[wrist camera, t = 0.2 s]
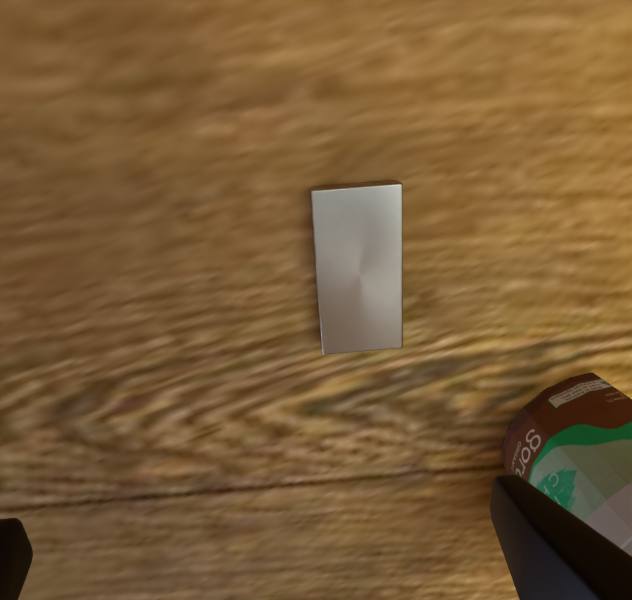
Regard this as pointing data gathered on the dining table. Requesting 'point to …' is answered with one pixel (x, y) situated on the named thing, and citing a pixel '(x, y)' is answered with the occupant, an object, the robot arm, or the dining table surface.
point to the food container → (579, 452)
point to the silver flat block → (359, 265)
